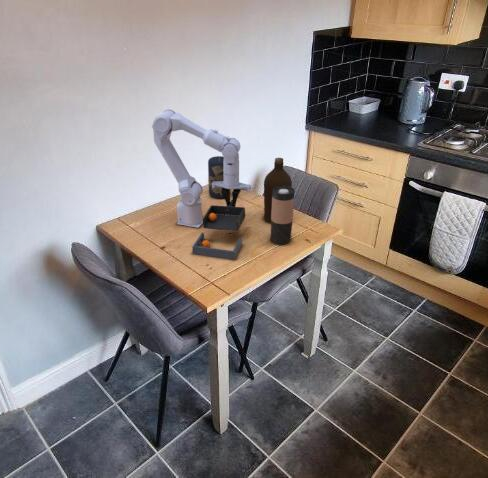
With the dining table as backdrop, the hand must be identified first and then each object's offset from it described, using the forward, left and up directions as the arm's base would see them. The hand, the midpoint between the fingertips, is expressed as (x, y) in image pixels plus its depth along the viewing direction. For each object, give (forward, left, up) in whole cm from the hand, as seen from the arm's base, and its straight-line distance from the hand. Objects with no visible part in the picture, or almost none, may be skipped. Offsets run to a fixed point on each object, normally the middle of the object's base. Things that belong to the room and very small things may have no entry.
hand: (231, 206), depth 164 cm
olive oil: (+15, +12, -8) cm, 21 cm away
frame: (+2, -18, -8) cm, 20 cm away
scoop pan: (+1, -5, -2) cm, 6 cm away
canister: (-15, +25, -8) cm, 31 cm away
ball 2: (-4, -10, 0) cm, 11 cm away
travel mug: (+21, -5, -8) cm, 23 cm away
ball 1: (-3, -18, -7) cm, 20 cm away
